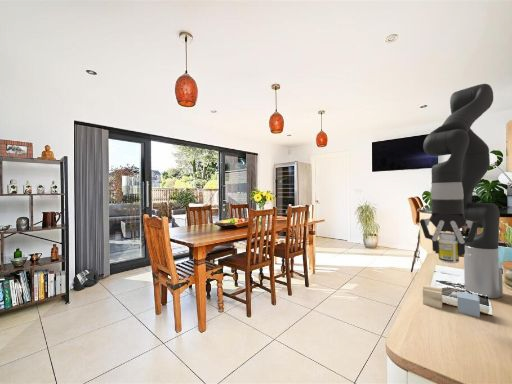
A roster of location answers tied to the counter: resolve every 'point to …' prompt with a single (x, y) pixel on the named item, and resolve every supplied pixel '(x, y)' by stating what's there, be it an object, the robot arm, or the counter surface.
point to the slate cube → (468, 304)
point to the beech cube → (432, 296)
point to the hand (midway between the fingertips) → (448, 253)
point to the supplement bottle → (448, 248)
